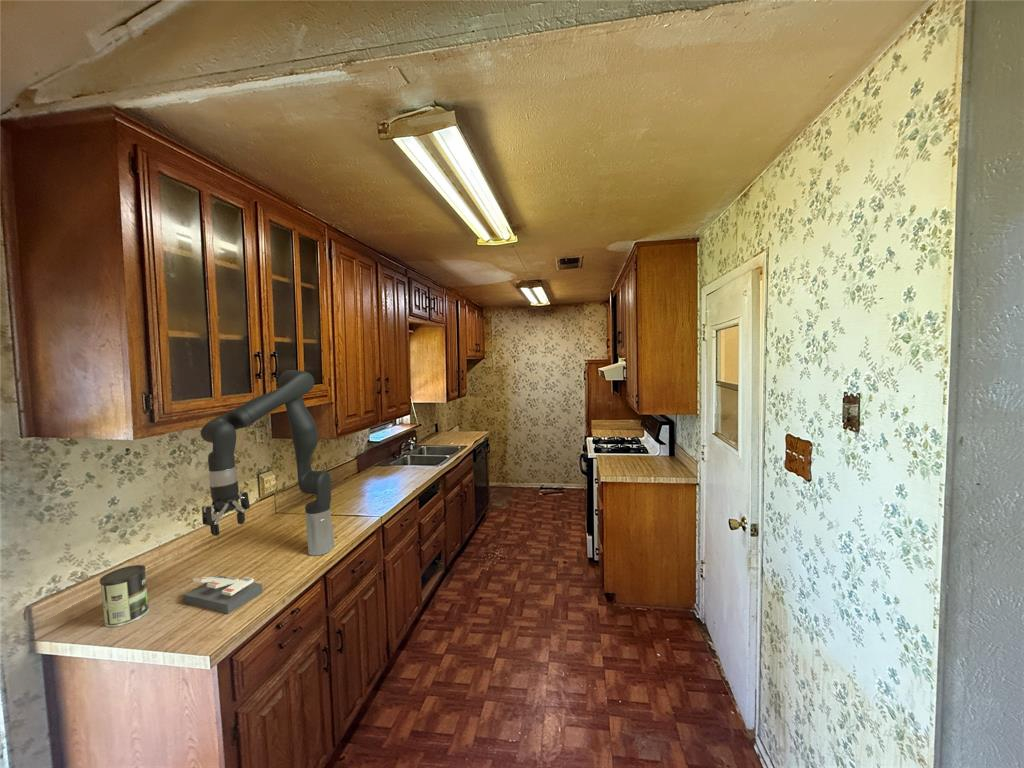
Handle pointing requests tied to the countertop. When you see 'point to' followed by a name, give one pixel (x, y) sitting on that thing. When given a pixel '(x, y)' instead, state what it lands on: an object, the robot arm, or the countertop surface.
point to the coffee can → (124, 595)
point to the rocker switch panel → (221, 597)
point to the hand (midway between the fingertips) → (228, 529)
